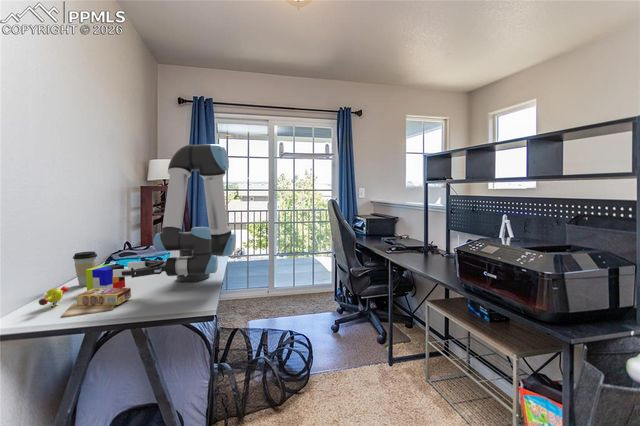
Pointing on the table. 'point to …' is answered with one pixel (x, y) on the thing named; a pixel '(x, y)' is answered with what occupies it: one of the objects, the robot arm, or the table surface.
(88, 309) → the cork mat
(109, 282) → the puzzle toy
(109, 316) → the table surface
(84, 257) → the coffee cup
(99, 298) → the candy box
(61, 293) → the toy figure
